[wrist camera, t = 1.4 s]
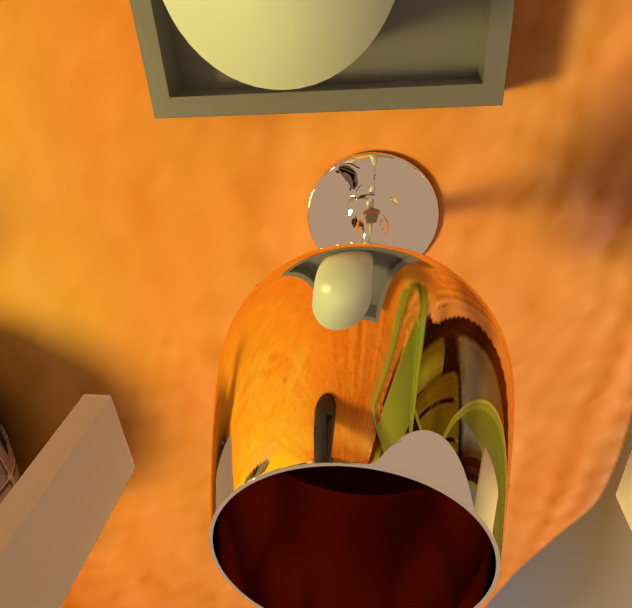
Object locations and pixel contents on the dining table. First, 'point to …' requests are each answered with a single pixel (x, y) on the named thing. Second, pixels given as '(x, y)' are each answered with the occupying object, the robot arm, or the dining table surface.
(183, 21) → the cream rounded cylinder
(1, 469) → the teapot
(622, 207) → the dining table surface
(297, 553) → the wineglass
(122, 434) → the robot arm
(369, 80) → the tray
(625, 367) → the dining table surface
